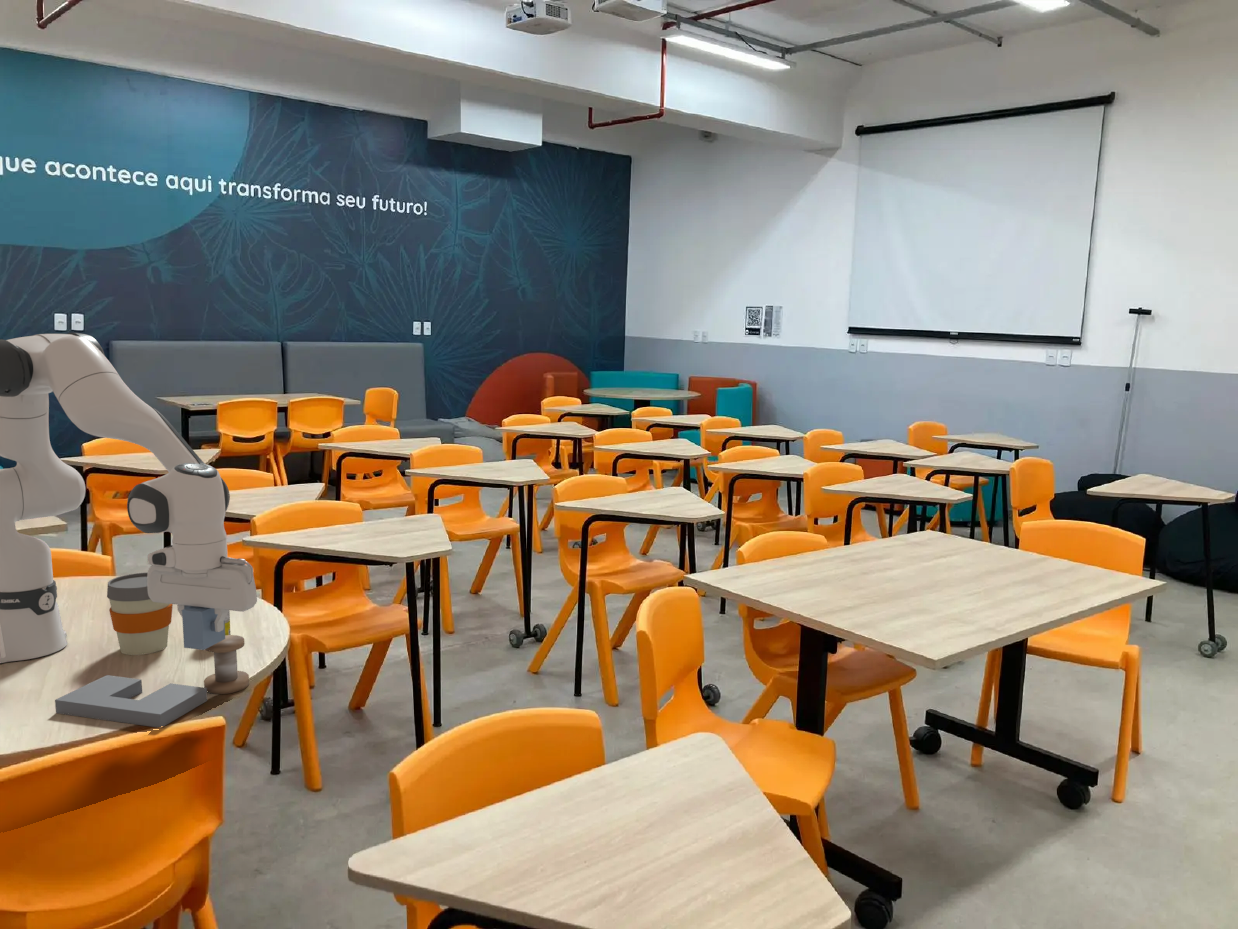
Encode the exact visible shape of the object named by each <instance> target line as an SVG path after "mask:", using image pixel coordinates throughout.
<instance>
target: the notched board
mask: <svg viewBox="0 0 1238 929" xmlns="http://www.w3.org/2000/svg"><path fill="white" fill-rule="evenodd" d="M142 680H143V679H141V678H131V677H126V676H125V677H124V676H117V675H109V674H106V675H103V676H102V677H100V678H97V679H96V680H93V681H92V682H89V683H87V684H85V685H83V686H81V687H79V688H76V689H75V690H72V691H71V692H68V693H66V694H64V695H62V696H60V697H57V698H56V699H54V707H55V714H59V715H67V716H75V717H81V718H89V719H94V720H95V719H96V720H102V721H109V722H117V723H124V724H130V725H139V726H145V727H153V728H158V727H161V726H164V727H165V726H167V725H169V724H170V723H173V722H174V721H175V720H177V719H179V718H180V717H182V716H184V715H185V714H187V713H189V712H191V711H192V710H194V709H196V708H197V707H199V706H201V705H202V704H204V703H206V702H208V692H207V688H204V686H195V685H186V684H179V683H168V684H167V685H165V686H163V687H161V688H159V689H158V690H155V691H154V692H152V693H150V694H148V695H146V696H144V697H142V698H141V699H133V698H134V697H136V696H137V695H140V694H142V693H143V684H142Z"/></svg>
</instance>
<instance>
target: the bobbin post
mask: <svg viewBox="0 0 1238 929" xmlns="http://www.w3.org/2000/svg"><path fill="white" fill-rule="evenodd" d="M245 644H246V643H245V638H244V637H243V636H241V635H235V634H231V635H225V639H224V640H222V641H220V642H218V643H216V644H214V645H212V646H210V647H209V648H207V649H205V650H204V651H206V652H209V653H213V663H214V673H213V674H210V675H209V676H207V677H205V678H204V679H203V688H207V691H208V692H210V693H209V694H211V693H212V694H213V695H226V694H227V695H228V694H232V693H236V692H239V691H242V690H244V689H246V688H247V687H248V686H249V685H250V675H249V674H248V673H247V672H245V671H241V670H238V656H237V653H238V652H237V651H238V650H240V649H242V648H243V647H245ZM208 692H207V693H208Z"/></svg>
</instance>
